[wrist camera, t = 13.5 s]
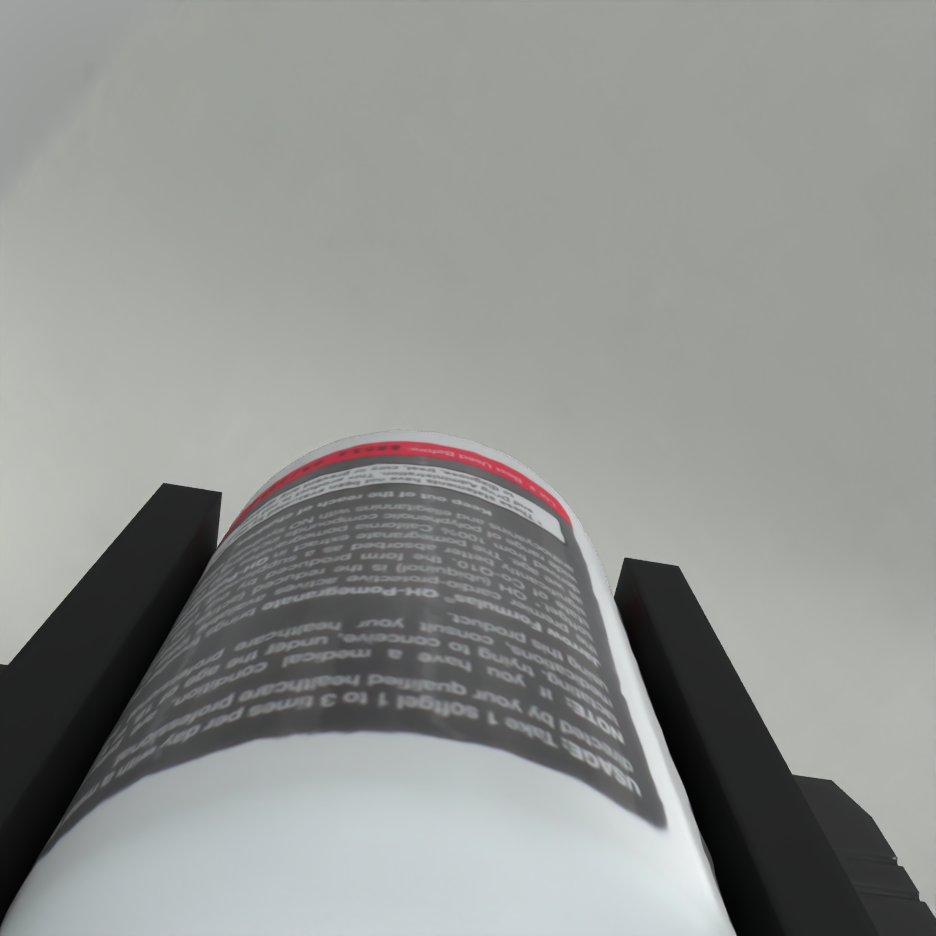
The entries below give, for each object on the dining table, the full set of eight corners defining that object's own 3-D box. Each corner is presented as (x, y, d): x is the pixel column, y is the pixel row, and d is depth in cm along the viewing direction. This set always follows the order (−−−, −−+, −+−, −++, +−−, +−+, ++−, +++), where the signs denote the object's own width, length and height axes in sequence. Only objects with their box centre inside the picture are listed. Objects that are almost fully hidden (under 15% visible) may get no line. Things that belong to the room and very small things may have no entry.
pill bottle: (134, 571, 12) (-826, 1856, 3) (448, 337, 11) (432, 1199, 2) (381, 823, 14) (239, 2191, 5) (676, 637, 13) (1264, 1911, 4)
